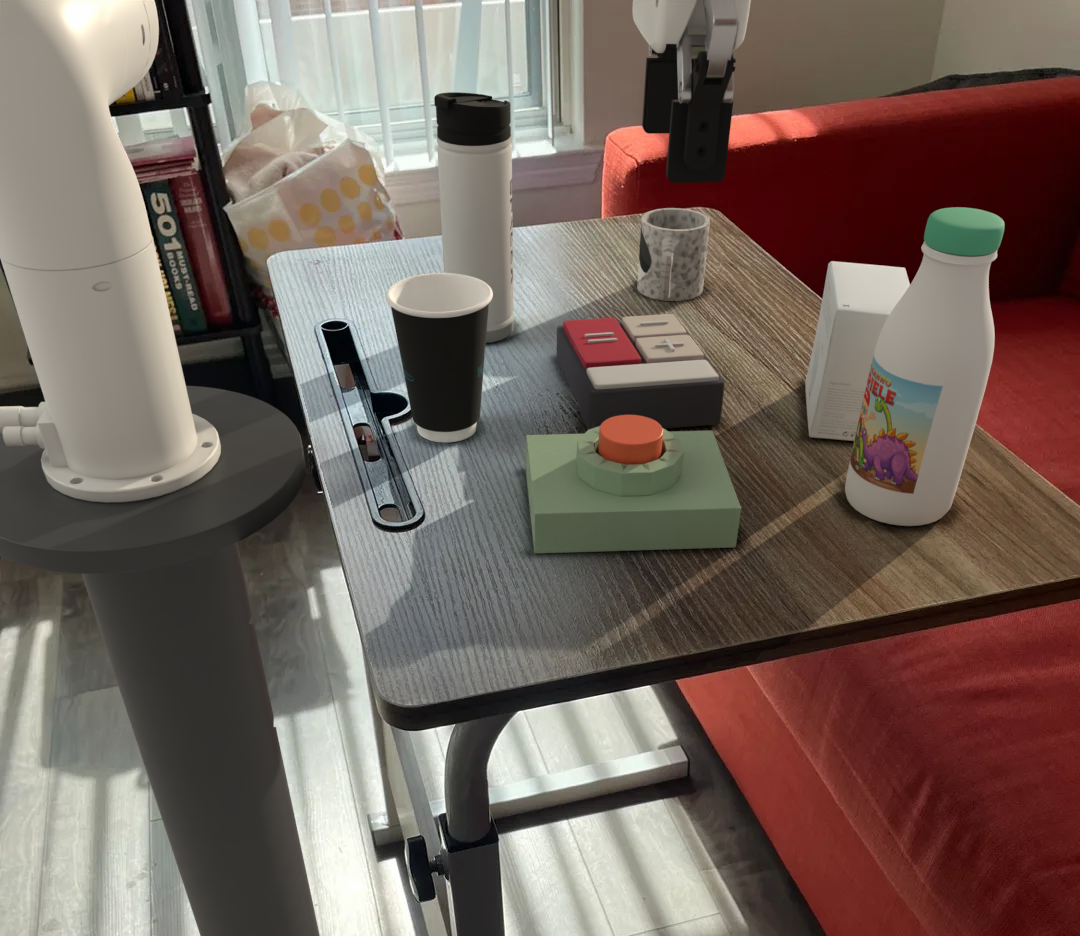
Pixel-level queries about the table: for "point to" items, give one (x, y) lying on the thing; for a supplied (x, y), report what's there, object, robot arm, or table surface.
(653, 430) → the push button
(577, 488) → the button housing
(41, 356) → the robot arm
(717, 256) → the table surface
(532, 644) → the table surface
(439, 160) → the travel mug
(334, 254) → the table surface
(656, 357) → the calculator
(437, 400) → the dixie cup
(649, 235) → the mug
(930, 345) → the milk bottle
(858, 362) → the cosmetics box
